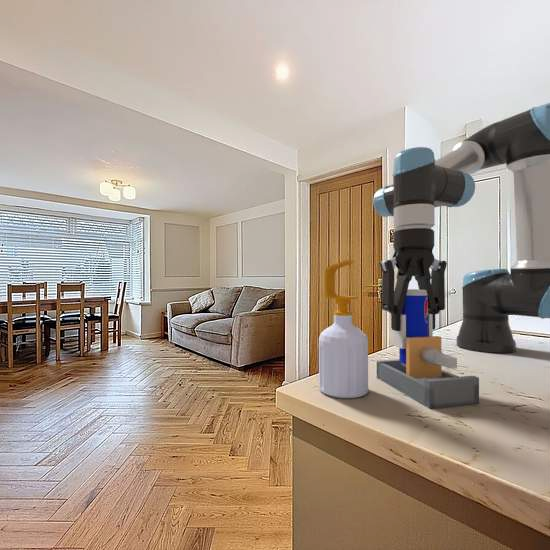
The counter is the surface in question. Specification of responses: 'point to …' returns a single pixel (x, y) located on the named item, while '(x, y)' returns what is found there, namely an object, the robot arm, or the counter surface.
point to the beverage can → (415, 317)
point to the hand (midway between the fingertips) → (413, 346)
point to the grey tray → (430, 386)
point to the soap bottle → (342, 348)
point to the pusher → (426, 357)
